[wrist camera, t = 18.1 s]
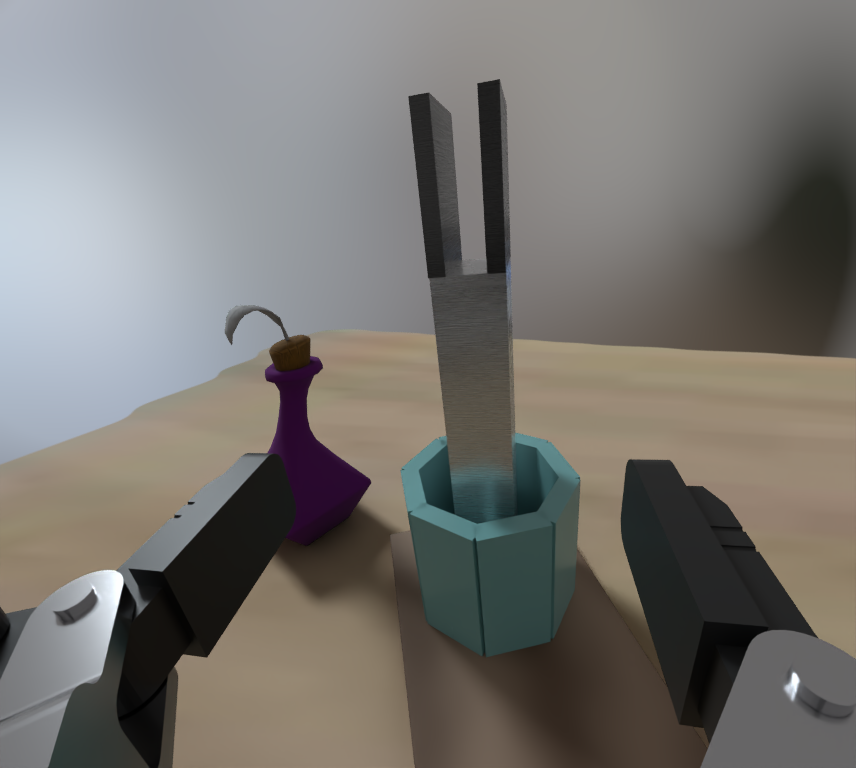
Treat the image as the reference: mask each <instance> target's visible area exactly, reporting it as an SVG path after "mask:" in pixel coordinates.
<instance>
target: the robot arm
mask: <svg viewBox="0 0 856 768" xmlns="http://www.w3.org/2000/svg"><path fill="white" fill-rule="evenodd" d="M295 516H296V503H295V499H294V496H293V493H292V490H291V486H290V483H289V480H288V476H287V473H286V470H285V467H284V463H283V461H282V459H281V457H280V456H279V455H278V454H266V453H247V454H245V455H243V456H242V457H241V458H240V459H239V460H238V461H237V462H236V463H235V464H234V465H233V466H232V467H230V468H229V469H228V470H227V471H226V472H225V473H224V474H223V475H221V476H220V477H218V478H216V479H215V480H213V481H212V482H210V483H208V484H207V485H205V486H204V487H203V488H202V489H201V490H200V491H199V492H198V493H197V494H196V495H194V496H193V497H192V498H191V499H190V500H189V501H188V505H184V506H183V507H182V508H181V509H180V510H179V511H178V512H177V513H176V514H175V516H174V518H171V519H170V520H168V521H167V522H166V523H165V524H164V525H163V526H162V527H161V528H160V529H159V530H158V531H157V532H156V533H155V534H154V535H153V536H152V537H151V538H150V539H149V540H148V541H147V542H146V543H145V544H144V545H142V546H141V547H140V548H139V549H138V550H137V551H136V552H135V553H134V554H133V555H132V556H131V557H130V558H129V559H128V560H127V561H126V562H125V563H124V564H123V565H122V566H121V567H120V568H119V569H117V570H116V571H113V570H103V571H97V572H93V573H90V574H87V575H85V576H82V577H80V578H78V579H76V580H74V581H72V582H70V583H68V584H66V585H65V586H63V587H61V588H60V589H58V590H57V591H55V592H54V593H53V594H52V595H50V596H49V597H48V598H47V599H45V600H44V601H43V602H42V603H41V604H40V605H39V606H38V607H36V608H31V609H26V610H21V611H16V612H11V613H7V614H5V613H4V611H3V610H2V609H1V607H0V768H172V765H173V750H174V735H175V720H176V706H177V691H178V673H177V670H176V668H175V667H174V666H175V664H176V663H177V662H178V660H179V659H180V657H181V656H182V655H183V654H185V655H192V656H199V657H208V655H209V654H210V652H211V651H212V649H213V648H214V646H215V645H216V643H217V642H218V640H219V638H220V637H221V635H222V634H223V632H224V631H225V629H226V628H227V626H228V625H229V623H230V622H231V620H232V619H233V617H234V615H235V614H236V612H237V611H238V609H239V608H240V606H241V605H242V603H243V602H244V600H245V599H246V597H247V596H248V594H249V592H250V591H251V589H252V588H253V586H254V585H255V583H256V582H257V580H258V579H259V577H260V576H261V574H262V573H263V571H264V570H265V568H266V566H267V565H268V563H269V562H270V560H271V559H272V557H273V556H274V554H275V553H276V551H277V550H278V548H279V547H280V545H281V543H282V542H283V540H284V539H285V537H286V536H287V534H288V533H289V531H290V530H291V528H292V526H293V524H294V520H295ZM621 534H622V541H623V545H624V549H625V553H626V556H627V559H628V562H629V565H630V569H631V572H632V575H633V578H634V581H635V585H636V588H637V591H638V594H639V597H640V601H641V604H642V607H643V610H644V613H645V617H646V620H647V623H648V626H649V630H650V633H651V636H652V639H653V642H654V646H655V649H656V652H657V655H658V658H659V662H660V665H661V668H662V671H663V674H664V678H665V681H666V684H667V687H668V690H669V694H670V697H671V700H672V703H673V707H674V710H675V713H676V716H677V719H678V723H679V725H686V726H693V727H701V728H704V730H705V732H706V735H707V738H708V741H709V744H710V745H709V747H708V750H707V752H706V755H705V757H704V760H703V762H702V765H701V767H700V768H856V659H855V658H853V657H852V656H850V655H849V654H847V653H846V652H844V651H842V650H841V649H839V648H837V647H835V646H833V645H832V644H830V643H827V642H825V641H823V640H821V639H819V638H818V637H817V636H816V635H815V633H814V632H813V630H812V629H811V627H810V626H809V624H808V623H807V622H806V620H805V619H804V617H803V616H802V614H801V613H800V611H799V610H798V608H797V607H796V605H795V604H794V602H793V601H792V600H791V598H790V597H789V595H788V594H787V592H786V591H785V589H784V588H783V586H782V585H781V583H780V582H779V580H778V579H777V578H776V576H775V575H774V573H773V572H772V570H771V569H770V567H769V566H768V564H767V563H766V561H765V560H764V558H763V557H762V555H761V554H760V553H759V552H756V549H755V545H754V544H753V542H752V541H751V539H750V538H749V536H748V535H747V533H746V532H743V530H742V526H741V525H740V523H739V522H738V520H737V519H736V517H735V516H734V514H733V513H732V511H731V510H730V508H729V507H728V506H727V505H726V504H725V503H724V502H722V501H721V500H720V499H719V498H717V497H716V496H715V495H713V494H712V493H711V492H709V491H708V490H707V489H705V488H704V487H703V486H686V485H685V483H684V481H683V480H682V478H681V476H680V474H679V473H678V471H677V469H676V468H675V466H674V464H673V463H672V462H671V461H670V460H628V462H627V466H626V473H625V482H624V492H623V502H622V511H621Z"/></svg>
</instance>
